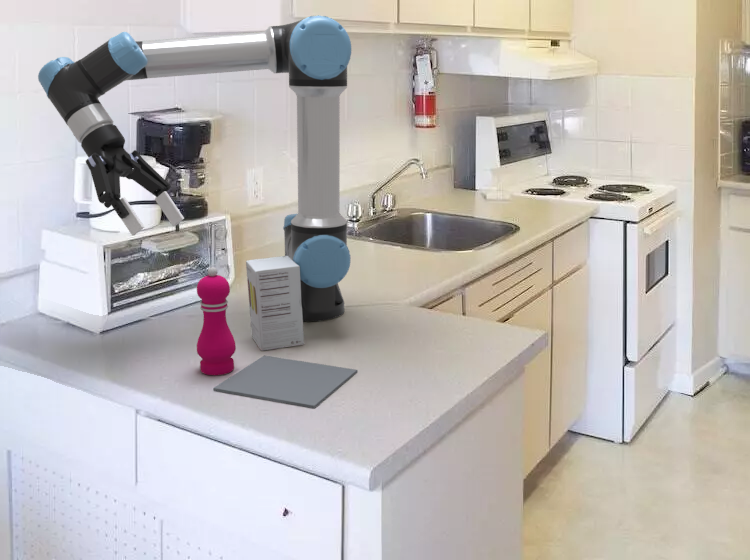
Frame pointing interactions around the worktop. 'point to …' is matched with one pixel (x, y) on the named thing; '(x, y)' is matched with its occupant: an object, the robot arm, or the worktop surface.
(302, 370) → the slate mat
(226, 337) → the pepper mill
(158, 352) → the worktop surface
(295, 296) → the supplement box
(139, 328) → the worktop surface
